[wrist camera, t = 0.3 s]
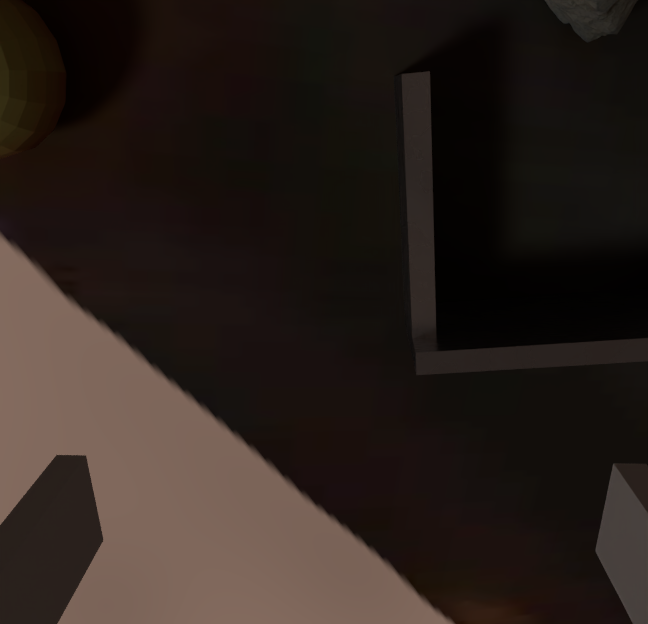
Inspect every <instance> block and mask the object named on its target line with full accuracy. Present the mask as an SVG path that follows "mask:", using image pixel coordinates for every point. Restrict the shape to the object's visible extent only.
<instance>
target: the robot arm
mask: <svg viewBox="0 0 648 624" xmlns="http://www.w3.org/2000/svg"><path fill="white" fill-rule="evenodd" d="M102 542H103V536H102V531H101V526H100V522H99V517H98V512H97V507H96V502H95V497H94V492H93V488H92V483H91V478H90V473H89V468H88V464H87V459H86V456H78V455H76V456H75V455H73V456H72V455H57V456H56V457H55V458H54V459H53V460H52V462H51V463H50V464H49V465H48V467H47V468H46V469H45V470H44V471H43V473H42V474H41V475H40V476H39V478H38V479H37V480H36V481H35V483H34V484H33V485H32V486H31V488H30V489H29V490H28V491H27V493H26V494H25V495H24V496H23V498H22V499H21V500H20V501H19V503H18V504H17V505H16V507H15V508H14V509H13V510H12V511H11V513H10V514H9V515H8V516H7V518H6V519H5V520H4V521H3V523H2V524H1V525H0V624H57V623H58V621H59V620H60V618H61V616H62V614H63V612H64V610H65V609H66V607H67V605H68V603H69V601H70V600H71V598H72V596H73V594H74V592H75V591H76V589H77V587H78V585H79V583H80V581H81V580H82V578H83V576H84V574H85V572H86V570H87V569H88V567H89V565H90V563H91V561H92V560H93V558H94V556H95V554H96V552H97V550H98V549H99V547H100V545H101V543H102ZM596 553H597V555H598V557H599V559H600V561H601V563H602V565H603V567H604V569H605V571H606V572H607V574H608V576H609V578H610V580H611V582H612V584H613V586H614V588H615V590H616V592H617V594H618V596H619V597H620V599H621V601H622V603H623V605H624V607H625V609H626V611H627V613H628V615H629V617H630V619H631V621H632V622H633V624H648V466H647V465H646V464H617V463H614V464H613V468H612V473H611V478H610V483H609V488H608V493H607V497H606V502H605V507H604V512H603V517H602V522H601V527H600V531H599V536H598V541H597V546H596Z"/></svg>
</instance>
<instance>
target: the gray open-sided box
mask: <svg viewBox="0 0 648 624" xmlns="http://www.w3.org/2000/svg"><path fill="white" fill-rule="evenodd" d="M394 86H395V108H396V130H397V152H398V174H399V196H400V218H401V239H402V261H403V283H404V305H405V325H406V329H407V334H408V339H409V343H410V348H411V352H412V357H413V361H414V366H415V370H416V375H425V374H442V373H458V372H475V371H492V370H508V369H525V368H541V367H558V366H575V365H591V364H608V363H624V362H641V361H648V288H645V289H631V290H616V291H602V292H588V293H574V294H559V295H545V296H531V297H517V298H502V299H488V300H474V301H459V302H445V303H436V300H435V259H434V218H433V177H432V136H431V95H430V71H427V72H418V73H408V74H400V75H397V76H394Z"/></svg>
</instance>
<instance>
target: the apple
mask: <svg viewBox="0 0 648 624" xmlns="http://www.w3.org/2000/svg"><path fill="white" fill-rule="evenodd" d="M66 77H67V73H66V70H65V66H64V63H63V60H62V56H61V53H60V49H59V46H58V43H57V40H56V39H55V38H54V36H53V35H52V33H51V32H50V30H49V29H48V27H47V26H46V24H45V23H44V21H43V20H42V18H41V17H40V15H39V14H38V12H37V11H35V10H34V9H33V8H31V7H30V6H29V5H28V4H26V3H25V2H24V1H22V0H0V159H2V158H5V157H8V156H11V155H14V154H17V153H20V152H23V151H26V150H29V149H32V148H35V147H36V146H37V145H38V144H39V143H40V142H42V141H43V140H44V139H45V138H46V137H47V136H48V135H49V134H50V133H51V132H52V131H53V130H54V129H55V126H56V124H57V122H58V119H59V117H60V114H61V112H62V110H63V107H64V105H65V101H66Z"/></svg>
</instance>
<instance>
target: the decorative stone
mask: <svg viewBox="0 0 648 624" xmlns="http://www.w3.org/2000/svg"><path fill="white" fill-rule="evenodd" d="M545 1H546V3H547V4H548V6H549V8H550V9H551V10H552V11H553V12H554V14H555V15H556V16H557V18H558V19H559V20H560V21H562V22H563V23H570V24H571V26H572V27H573V29H574V31H575V32H576V33H577V34H578V35H579V36H580V37H581V38H582V39H583V40H585V41H586V42H590V41H592V40H594V39H597V38H599V37H600V36H602V35H604V36H605V35H607V34H617V33H618V32H619V31H620V29H621V28H622V26H623V24H624V22H625V21H626V19H627V17H628V16H629V14H630V12H631V11H632V9H633V7H634V5H635V4H636V2H637V1H638V0H545Z"/></svg>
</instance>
